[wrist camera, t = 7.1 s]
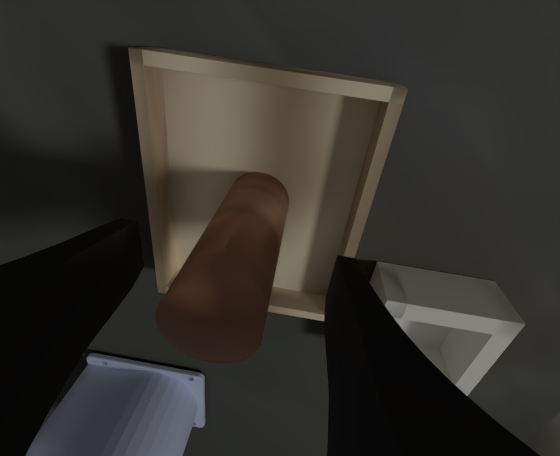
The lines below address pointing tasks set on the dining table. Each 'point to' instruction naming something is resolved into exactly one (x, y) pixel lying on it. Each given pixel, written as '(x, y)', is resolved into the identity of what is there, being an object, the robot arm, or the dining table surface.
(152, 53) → the tray
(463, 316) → the gray square open box
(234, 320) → the pin
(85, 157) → the dining table surface
